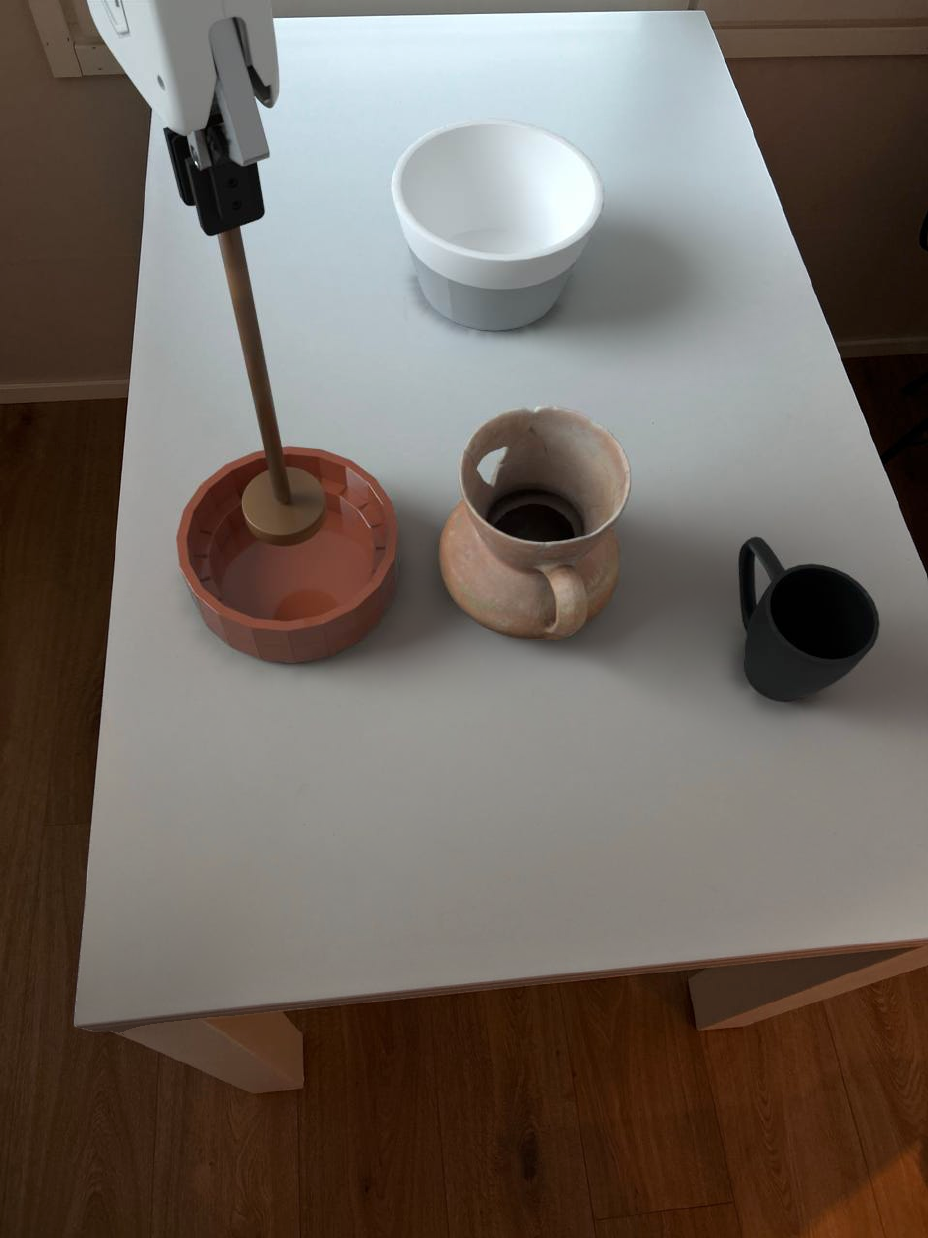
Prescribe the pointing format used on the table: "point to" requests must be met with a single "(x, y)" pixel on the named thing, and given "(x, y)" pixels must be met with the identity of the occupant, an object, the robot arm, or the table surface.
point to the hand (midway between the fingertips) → (223, 207)
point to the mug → (801, 625)
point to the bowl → (495, 218)
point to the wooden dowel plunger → (267, 423)
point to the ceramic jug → (537, 523)
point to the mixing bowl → (291, 562)
